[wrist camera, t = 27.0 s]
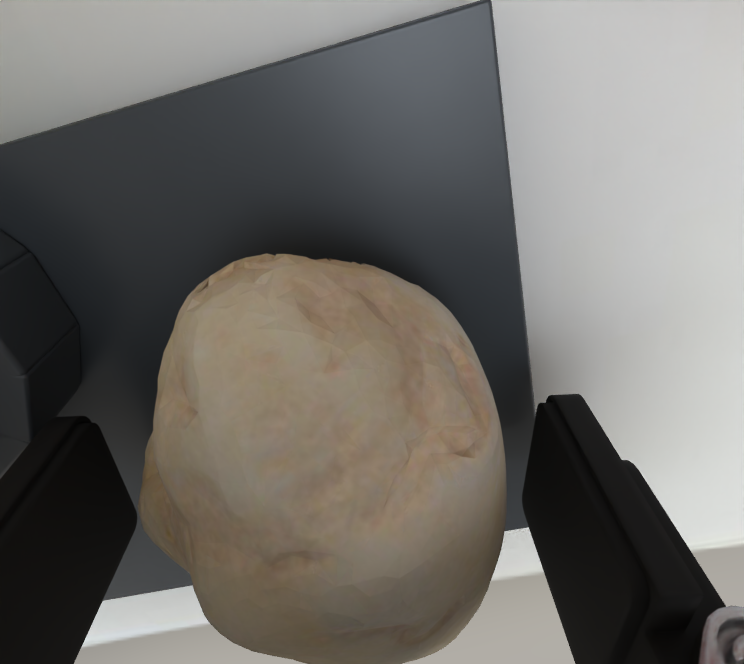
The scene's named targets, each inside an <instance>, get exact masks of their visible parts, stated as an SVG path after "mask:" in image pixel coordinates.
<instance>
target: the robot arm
mask: <svg viewBox="0 0 744 664" xmlns="http://www.w3.org/2000/svg"><path fill="white" fill-rule="evenodd" d="M522 506H523V511H524V514H525V517H526V520H527V523H528V526H529V529H530V532H531V535H532V538H533V541H534V544H535V547H536V550H537V552H538V555H539V558H540V561H541V564H542V567H543V570H544V573H545V576H546V579H547V582H548V585H549V588H550V591H551V593H552V596H553V599H554V602H555V605H556V608H557V611H558V614H559V617H560V620H561V622H562V626H563V628H564V631H565V634H566V637H567V640H568V643H569V646H570V649H571V652H572V655H573V658H574V661H575V663H576V664H744V607H739V606H728V607H726V606H725V604H724V603H723V601H722V599H721V598H720V596H719V595H718V593H717V592H716V590H715V589H714V587H713V585H712V584H711V582H710V581H709V579H708V578H707V576H706V574H705V573H704V571H703V570H702V568H701V567H700V565H699V564H698V562H697V560H696V559H695V557H694V556H693V554H692V553H691V551H690V549H689V548H688V546H687V545H686V543H685V542H684V540H683V539H682V537H681V535H680V534H679V532H678V531H677V529H676V528H675V526H674V524H673V523H672V521H671V520H670V518H669V517H668V515H667V514H666V512H665V510H664V509H663V507H662V506H661V504H660V503H659V501H658V500H657V498H656V496H655V495H654V493H653V492H652V490H651V489H650V487H649V485H648V484H647V482H646V481H645V479H644V478H643V476H642V475H641V473H640V471H639V470H638V469H637V468H636V466H635V465H634V464H633V463H631V462H630V461H628V460H621V458H620V457H619V455H618V453H617V452H616V450H615V449H614V447H613V445H612V444H611V442H610V440H609V439H608V437H607V436H606V434H605V432H604V431H603V429H602V427H601V426H600V424H599V423H598V421H597V419H596V418H595V416H594V415H593V413H592V411H591V410H590V408H589V406H588V405H587V403H586V402H585V400H584V398H583V397H582V396H581V395H579V394H567V395H550V396H548V398H547V400H546V403H539V405H538V407H537V412H536V417H535V423H534V429H533V435H532V440H531V446H530V452H529V458H528V463H527V469H526V475H525V481H524V486H523V492H522ZM136 525H137V512H136V509H135V507H134V504H133V502H132V500H131V498H130V495H129V493H128V491H127V488H126V486H125V484H124V482H123V479H122V477H121V475H120V472H119V470H118V468H117V466H116V463H115V461H114V459H113V457H112V454H111V452H110V450H109V447H108V445H107V443H106V441H105V438H104V436H103V434H102V431H101V429H100V427H99V426H98V424H96V423H92V422H91V420H90V419H89V418H88V417H86V416H64V417H54V418H51V419H50V420H49V421H48V422H47V423H46V424H45V425H44V426H43V427H42V429H41V430H40V431H39V432H38V434H37V435H36V436H35V437H34V438H33V440H32V441H31V442H30V443H29V444H28V446H27V447H26V448H25V449H24V451H23V452H22V453H21V454H20V455H19V457H18V458H17V459H16V460H15V462H14V463H13V464H12V465H11V466H10V468H9V469H8V470H7V471H6V473H5V474H4V475H3V476H2V477H1V479H0V664H74V662H75V659H76V657H77V655H78V653H79V651H80V649H81V646H82V644H83V642H84V640H85V638H86V636H87V633H88V631H89V629H90V627H91V625H92V623H93V620H94V618H95V616H96V614H97V612H98V609H99V607H100V605H101V603H102V601H103V599H104V596H105V594H106V592H107V590H108V588H109V586H110V583H111V581H112V579H113V577H114V575H115V573H116V570H117V568H118V566H119V564H120V562H121V560H122V557H123V555H124V553H125V551H126V549H127V546H128V544H129V542H130V540H131V538H132V536H133V533H134V531H135V529H136Z"/></svg>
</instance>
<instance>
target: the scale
mask: <svg viewBox="0 0 744 664" xmlns="http://www.w3.org/2000/svg"><path fill="white" fill-rule="evenodd" d="M266 253H267V254H271V255H274V256H276V254H291V255H297V256H304V257H307V258H309V259H313V260H319V259H328V260H329V258H330V259H335V260H340V261H345V262H356V263H358V264H360V265H361V264H363V263H364V264H367V265H371V266H375V267H377V268H379V269H382V270H384V271H387V272H390V273H392V274H394V275H396V276H398V277H400V278H401V279H403V280H405V281H407V282H409V283H412V284H415V285H418V286H420V287H421V288H422V289H424V290H425V291H427V292H428V293H430V294H431V295H432V296H434V297H435V298H437V299H438V300H439V301H440V302H441V303H442V304H443V305H444V306H445V307H446V308H447V309H448V310H449V311H450V312H451V313H452V314H453V316H454V317H455V318H456V320H457V321H458V323H459V324H460V325H461V327H462V328H463V330H464V332H465V333H466V335H467V337H468V338H469V340H470V342H471V344H472V345H473V348H474V350H475V352H476V354H477V357H478V359H479V361H480V364H481V366H482V368H483V371H484V373H485V375H486V378H487V380H488V383H489V386H490V388H491V391H492V394H493V397H494V401H495V405H496V408H497V412H498V416H499V420H500V425H501V430H502V437H503V444H504V451H505V461H506V484H507V509H506V524H505V531H509V530H515V529H520V528H526V527H529V526H528V523H527V520H526V517H525V514H524V511H523V506H522V492H523V486H524V481H525V475H526V469H527V463H528V458H529V452H530V446H531V440H532V435H533V429H534V423H535V417H536V414H535V405H534V395H533V386H532V377H531V367H530V358H529V348H528V339H527V330H526V320H525V311H524V302H523V292H522V283H521V273H520V264H519V255H518V245H517V236H516V226H515V217H514V208H513V198H512V189H511V179H510V170H509V161H508V151H507V142H506V132H505V123H504V114H503V104H502V95H501V85H500V76H499V67H498V57H497V48H496V38H495V29H494V20H493V10H492V2H491V0H480V1H477V2H473V3H470V4H467V5H463V6H460V7H457V8H453V9H450V10H447V11H443V12H440V13H437V14H434V15H430V16H427V17H424V18H420V19H417V20H414V21H410V22H407V23H404V24H400V25H397V26H394V27H390V28H387V29H384V30H380V31H377V32H374V33H370V34H367V35H364V36H360V37H357V38H354V39H350V40H347V41H344V42H340V43H337V44H334V45H330V46H327V47H324V48H320V49H317V50H314V51H310V52H307V53H304V54H300V55H297V56H294V57H290V58H287V59H284V60H280V61H277V62H274V63H270V64H267V65H264V66H260V67H257V68H254V69H250V70H247V71H244V72H240V73H237V74H234V75H230V76H227V77H224V78H220V79H217V80H214V81H210V82H207V83H204V84H200V85H197V86H194V87H190V88H187V89H184V90H180V91H177V92H174V93H170V94H167V95H164V96H160V97H157V98H154V99H150V100H147V101H144V102H140V103H137V104H134V105H130V106H127V107H124V108H121V109H117V110H114V111H111V112H107V113H104V114H101V115H97V116H94V117H91V118H87V119H84V120H81V121H77V122H74V123H71V124H67V125H64V126H61V127H57V128H54V129H51V130H47V131H44V132H41V133H37V134H34V135H31V136H27V137H24V138H21V139H17V140H14V141H11V142H7V143H4V144H1V145H0V479H1V477H2V476H3V475H4V474H5V473H6V471H7V470H8V469H9V468H10V466H11V465H12V464H13V463H14V462H15V460H16V459H17V458H18V457H19V455H20V454H21V453H22V452H23V451H24V449H25V448H26V447H27V446H28V444H29V443H30V442H31V441H32V440H33V438H34V437H35V436H36V435H37V434H38V432H39V431H40V430H41V429H42V427H43V426H44V425H45V424H46V423H47V422H48V421H49V420H50V419H51V418H54V417H64V416H86V417H88V418H89V419H90V420H91V422H92V423H96V424H98V426H99V427H100V429H101V431H102V434H103V436H104V438H105V441H106V443H107V445H108V447H109V450H110V452H111V454H112V457H113V459H114V461H115V463H116V466H117V468H118V470H119V472H120V475H121V477H122V479H123V482H124V484H125V486H126V488H127V491H128V493H129V495H130V498H131V500H132V502H133V504H134V507H135V509H136V512H137V525H136V529H135V531H134V533H133V536H132V538H131V540H130V542H129V544H128V546H127V549H126V551H125V553H124V555H123V557H122V560H121V562H120V564H119V566H118V568H117V570H116V573H115V575H114V577H113V579H112V581H111V583H110V586H109V588H108V590H107V592H106V594H105V596H104V599H103V601H104V600H110V599H115V598H121V597H127V596H133V595H138V594H144V593H150V592H156V591H162V590H167V589H173V588H179V587H185V586H191V585H193V583H192V579H191V575H190V573H189V572H187V571H186V570H185V569H184V568H182V567H181V566H180V565H179V564H177V563H176V562H175V561H174V560H172V559H171V558H170V557H169V556H168V555H167V554H166V553H164V552H163V551H162V550H161V549H160V548H159V547H158V546H157V545H156V544H155V543H154V542H153V541H152V540H151V539H150V537H149V536H148V535H147V534H146V532H145V531H144V530H143V526H142V522H141V519H140V515H139V511H138V502H139V497H140V491H141V486H142V478H143V469H144V465H145V451H146V447H147V444H148V440H149V438H150V436H151V434H152V432H153V419H154V411H155V404H156V398H157V392H158V375H159V371H160V366H161V362H162V357H163V353H164V350H165V348H166V346H167V344H168V341H169V339H170V337H171V334H172V332H173V329H174V325H175V321H176V318H177V315H178V313H179V310H180V309H181V307H182V305H183V303H184V302H185V300H186V298H187V297H188V295H189V294H190V293H191V292H192V291H193V290H194V289H195V288H196V287H197V285H199V284H200V283H201V282H203V281H204V280H206V279H207V278H209V277H210V276H211V275H213V274H214V273H216V272H217V271H219V270H221V269H222V268H224V267H225V266H227V265H229V264H230V263H232V262H234V261H237V260H240V259H243V258H247V257H252V256H258V255H262V254H266Z"/></svg>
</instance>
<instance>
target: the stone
mask: <svg viewBox="0 0 744 664" xmlns="http://www.w3.org/2000/svg"><path fill="white" fill-rule="evenodd" d="M506 509H507V484H506V461H505V451H504V444H503V437H502V430H501V425H500V420H499V416H498V412H497V408H496V405H495V401H494V397H493V394H492V391H491V388H490V386H489V383H488V380H487V378H486V375H485V373H484V371H483V368H482V366H481V364H480V361H479V359H478V357H477V354H476V352H475V350H474V348H473V345H472V344H471V342H470V340H469V338H468V337H467V335H466V333H465V332H464V330H463V328H462V327H461V325H460V324H459V323H458V321H457V320H456V318H455V317H454V316H453V314H452V313H451V312H450V311H449V310H448V309H447V308H446V307H445V306H444V305H443V304H442V303H441V302H440V301H439V300H438V299H437V298H435V297H434V296H432V295H431V294H430V293H428V292H427V291H425V290H424V289H422V288H421V287H420V286H418V285H415V284H412V283H409V282H407V281H405V280H403V279H401V278H400V277H398V276H396V275H394V274H392V273H390V272H387V271H384V270H382V269H379V268H377V267H375V266H371V265H367V264H364V263H363V264H361V265H360V264H358V263H356V262H345V261H340V260H335V259H330V258H329V260H328V259H319V260H313V259H309V258H307V257H304V256H297V255H291V254H276V256H274V255H271V254H267V253H266V254H262V255H258V256H252V257H247V258H243V259H240V260H237V261H234V262H232V263H230V264H229V265H227V266H225V267H224V268H222V269H221V270H219V271H217V272H216V273H214V274H213V275H211V276H210V277H209V278H207V279H206V280H204V281H203V282H201V283H200V284H199V285H197V287H196V288H195V289H194V290H193V291H192V292H191V293H190V294H189V295H188V297H187V298H186V300H185V302H184V303H183V305H182V307H181V309H180V310H179V313H178V315H177V318H176V321H175V325H174V329H173V332H172V334H171V337H170V339H169V341H168V344H167V346H166V348H165V350H164V353H163V357H162V362H161V366H160V371H159V375H158V392H157V398H156V404H155V411H154V419H153V432H152V434H151V436H150V438H149V440H148V444H147V447H146V451H145V465H144V469H143V478H142V486H141V491H140V497H139V502H138V511H139V515H140V519H141V522H142V526H143V530H144V531H145V532H146V534H147V535H148V536H149V537H150V539H151V540H152V541H153V542H154V543H155V544H156V545H157V546H158V547H159V548H160V549H161V550H162V551H163V552H164V553H166V554H167V555H168V556H169V557H170V558H171V559H172V560H174V561H175V562H176V563H177V564H179V565H180V566H181V567H182V568H184V569H185V570H186V571H187V572H189V573H190V575H191V579H192V583H193V587H194V591H195V593H196V596H197V598H198V601H199V603H200V606H201V608H202V611H203V613H204V615H205V617H206V618H207V620H208V621H209V622H210V624H211V625H212V626H213V627H214V628H215V629H216V630H217V631H218V632H219V633H220V634H222V635H223V636H224V637H226V638H227V639H229V640H230V641H232V642H233V643H235V644H238V645H240V646H242V647H244V648H246V649H249V650H251V651H254V652H258V653H263V654H267V655H272V656H277V657H282V658H288V659H293V660H296V661H299V662H303V663H307V664H402V663H405V662H409V661H413V660H417V659H420V658H423V657H426V656H428V655H431V654H433V653H435V652H437V651H439V650H440V649H442V648H444V647H446V646H447V645H448V644H449V643H450V642H452V641H453V640H454V639H455V638H456V637H457V636H458V635H459V633H460V632H461V630H463V629H464V628H465V626H466V625H467V624H468V622H469V621H470V620H471V618H472V617H473V616H474V614H475V613H476V611H477V609H478V608H479V607H480V604H481V602H482V600H483V598H484V596H485V594H486V592H487V590H488V587H489V584H490V581H491V578H492V575H493V573H494V570H495V567H496V564H497V561H498V558H499V555H500V551H501V547H502V542H503V536H504V531H505V524H506Z"/></svg>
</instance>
